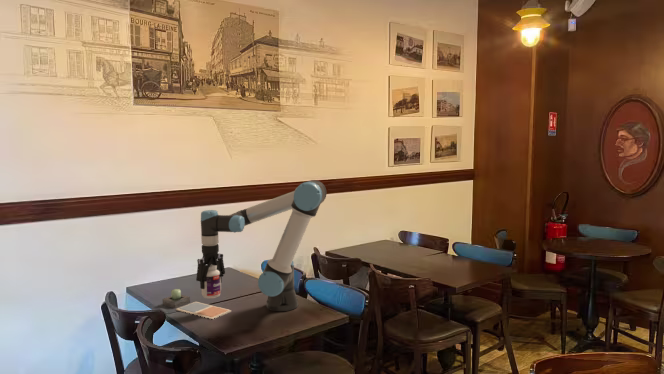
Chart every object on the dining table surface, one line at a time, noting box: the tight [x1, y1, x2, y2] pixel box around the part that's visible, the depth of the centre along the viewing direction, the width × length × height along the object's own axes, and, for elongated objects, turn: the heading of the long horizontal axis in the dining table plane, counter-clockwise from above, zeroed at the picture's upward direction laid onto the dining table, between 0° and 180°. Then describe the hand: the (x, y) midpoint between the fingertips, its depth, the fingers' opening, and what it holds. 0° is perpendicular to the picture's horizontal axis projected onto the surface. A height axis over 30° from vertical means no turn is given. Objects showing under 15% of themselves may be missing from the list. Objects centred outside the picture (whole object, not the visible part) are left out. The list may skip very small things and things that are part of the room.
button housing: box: [162, 294, 191, 309], centre depth 233 cm, size 9×9×3 cm
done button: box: [170, 288, 182, 300], centre depth 233 cm, size 4×4×4 cm
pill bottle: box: [202, 264, 221, 299], centre depth 219 cm, size 8×8×14 cm
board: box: [175, 301, 232, 320], centre depth 223 cm, size 24×12×1 cm, turn 58°
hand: (211, 292), depth 219 cm, fingers closed on pill bottle, 8 cm apart
